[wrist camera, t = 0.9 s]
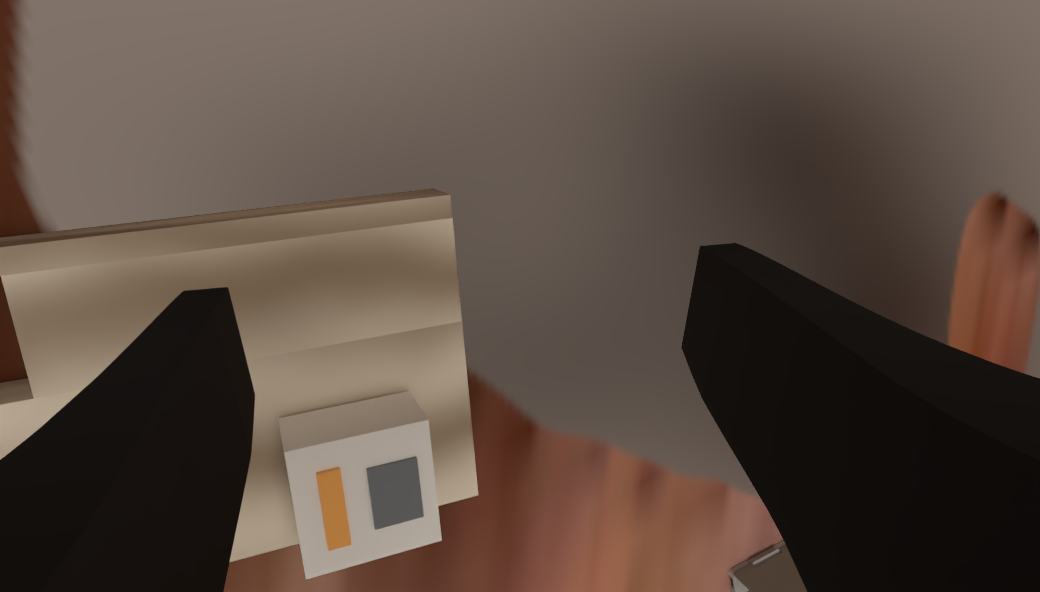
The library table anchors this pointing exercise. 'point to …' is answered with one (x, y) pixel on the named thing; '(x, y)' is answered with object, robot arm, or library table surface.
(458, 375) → the board
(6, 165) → the library table surface
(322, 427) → the finder
